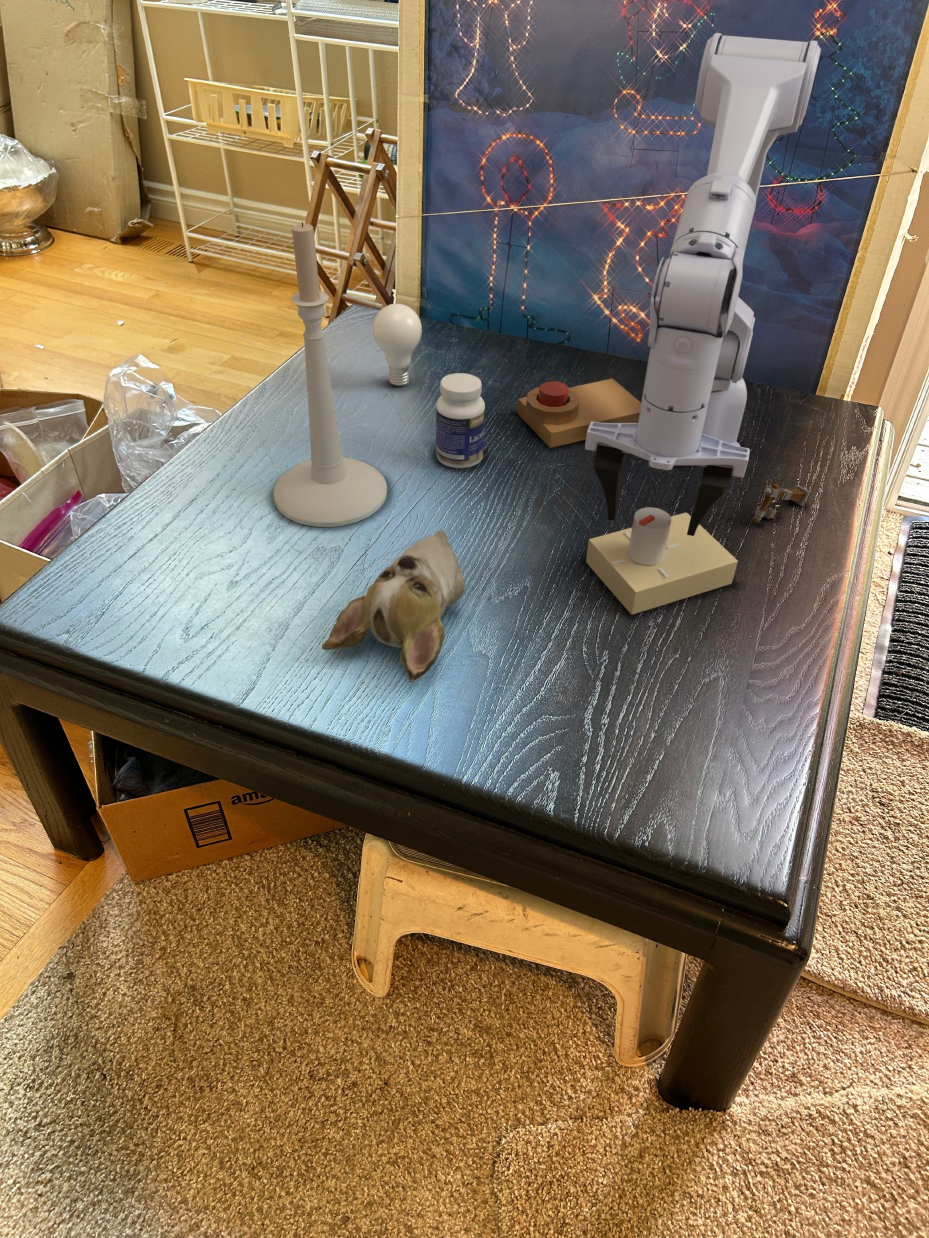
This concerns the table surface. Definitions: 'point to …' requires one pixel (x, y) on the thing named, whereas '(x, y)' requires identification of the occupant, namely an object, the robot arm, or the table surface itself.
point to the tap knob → (649, 536)
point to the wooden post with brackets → (774, 491)
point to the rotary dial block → (661, 567)
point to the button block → (579, 411)
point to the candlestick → (323, 423)
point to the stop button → (553, 394)
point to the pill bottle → (460, 421)
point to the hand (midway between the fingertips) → (651, 522)
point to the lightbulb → (397, 339)
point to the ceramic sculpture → (406, 605)
